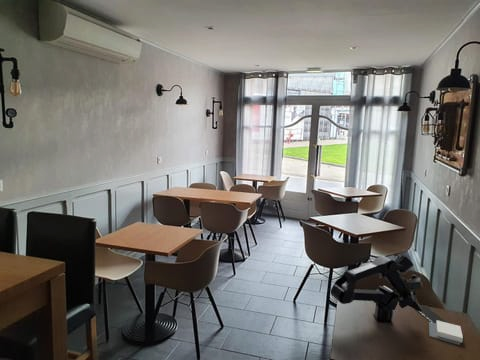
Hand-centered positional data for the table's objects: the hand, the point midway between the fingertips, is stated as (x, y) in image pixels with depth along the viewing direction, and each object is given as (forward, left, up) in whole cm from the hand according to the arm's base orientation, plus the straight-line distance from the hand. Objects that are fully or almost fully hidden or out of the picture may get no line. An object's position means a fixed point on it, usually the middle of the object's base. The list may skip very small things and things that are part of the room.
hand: (420, 310), depth 152 cm
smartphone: (+10, +11, -8) cm, 17 cm away
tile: (+6, -3, -6) cm, 9 cm away
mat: (+9, -4, -7) cm, 12 cm away
